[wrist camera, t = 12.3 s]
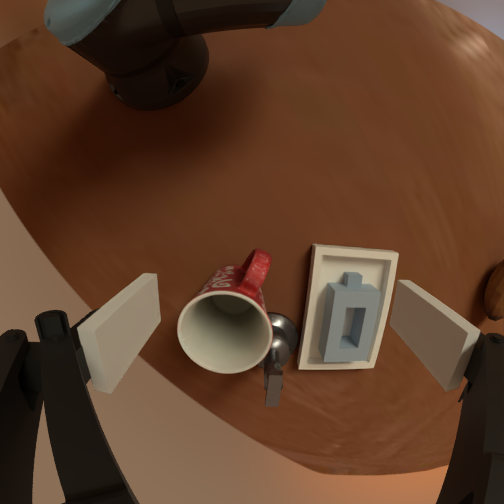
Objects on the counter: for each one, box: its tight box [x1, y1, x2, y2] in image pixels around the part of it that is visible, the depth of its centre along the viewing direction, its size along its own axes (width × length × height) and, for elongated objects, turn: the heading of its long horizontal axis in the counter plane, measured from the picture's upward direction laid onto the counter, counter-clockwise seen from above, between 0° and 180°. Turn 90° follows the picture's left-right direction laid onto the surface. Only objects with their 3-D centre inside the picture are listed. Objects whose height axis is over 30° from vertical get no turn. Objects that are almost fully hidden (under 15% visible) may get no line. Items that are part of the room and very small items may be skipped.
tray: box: [297, 244, 399, 370], centre depth 38 cm, size 18×12×2 cm, turn 176°
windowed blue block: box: [318, 272, 381, 362], centre depth 37 cm, size 12×6×4 cm, turn 177°
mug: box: [177, 249, 273, 374], centre depth 32 cm, size 13×9×14 cm
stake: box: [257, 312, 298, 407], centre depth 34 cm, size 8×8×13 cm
